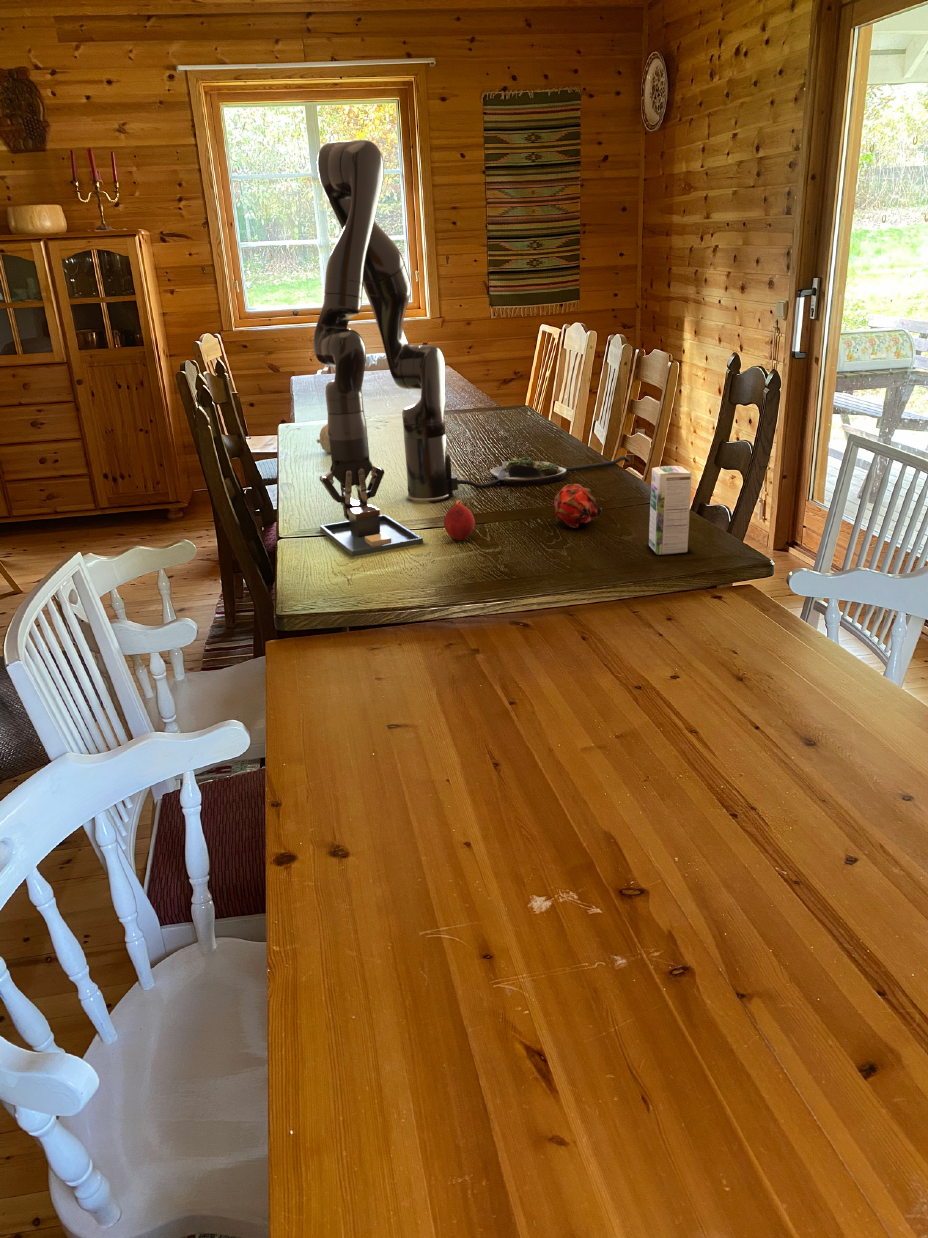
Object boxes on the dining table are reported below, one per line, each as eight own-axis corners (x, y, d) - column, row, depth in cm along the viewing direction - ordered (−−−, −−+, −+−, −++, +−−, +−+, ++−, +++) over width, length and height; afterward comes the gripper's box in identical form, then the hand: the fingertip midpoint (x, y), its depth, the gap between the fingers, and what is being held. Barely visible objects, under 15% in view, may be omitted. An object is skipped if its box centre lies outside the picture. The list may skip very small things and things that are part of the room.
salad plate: (474, 472, 227) (473, 454, 225) (540, 463, 232) (540, 445, 230) (504, 489, 210) (503, 469, 208) (574, 479, 215) (574, 460, 213)
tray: (386, 520, 191) (385, 514, 190) (423, 545, 174) (422, 538, 173) (320, 532, 186) (319, 525, 185) (352, 558, 169) (351, 551, 168)
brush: (381, 532, 181) (379, 507, 179) (358, 537, 179) (355, 512, 177) (358, 518, 193) (355, 495, 191) (335, 522, 191) (333, 499, 189)
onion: (472, 546, 172) (470, 504, 169) (442, 545, 173) (439, 504, 170) (478, 536, 177) (476, 496, 174) (449, 536, 178) (446, 496, 175)
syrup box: (647, 545, 166) (649, 466, 161) (679, 543, 167) (682, 464, 161) (656, 555, 161) (658, 474, 155) (689, 552, 161) (692, 471, 156)
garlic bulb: (350, 458, 263) (359, 424, 260) (343, 459, 255) (352, 424, 252) (319, 448, 263) (327, 414, 261) (311, 449, 255) (319, 414, 252)
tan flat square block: (384, 537, 178) (383, 532, 178) (391, 543, 175) (391, 538, 174) (365, 541, 177) (364, 536, 176) (371, 546, 173) (371, 541, 173)
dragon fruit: (568, 522, 188) (588, 546, 178) (536, 503, 184) (555, 527, 174) (593, 488, 186) (614, 511, 176) (561, 468, 182) (582, 490, 172)
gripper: (320, 442, 174) (330, 530, 180) (387, 432, 179) (395, 518, 186) (308, 436, 180) (318, 521, 187) (374, 427, 185) (381, 510, 192)
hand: (356, 519), depth 186 cm, fingers closed on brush
